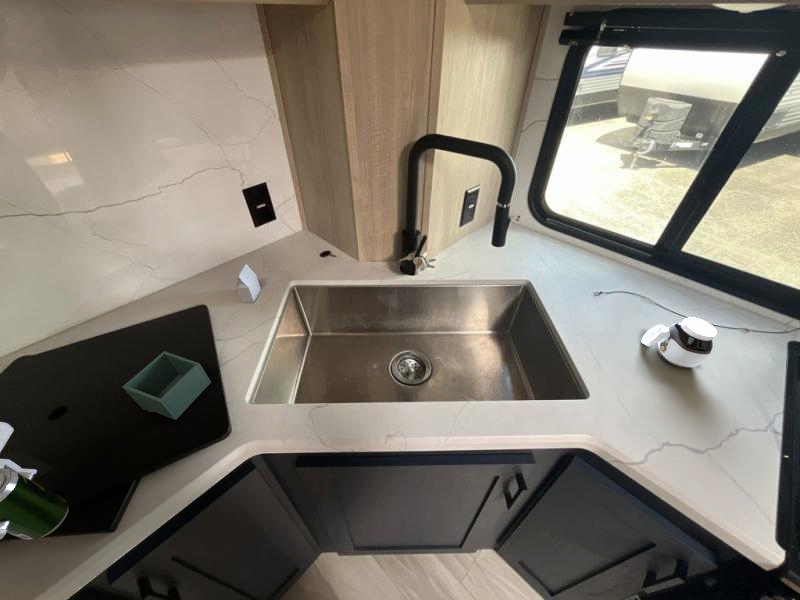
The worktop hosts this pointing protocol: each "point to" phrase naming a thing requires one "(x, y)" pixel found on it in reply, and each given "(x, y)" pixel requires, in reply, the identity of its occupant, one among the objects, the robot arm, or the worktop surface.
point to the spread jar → (682, 341)
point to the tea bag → (247, 285)
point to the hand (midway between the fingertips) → (21, 502)
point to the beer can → (29, 506)
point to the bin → (168, 385)
